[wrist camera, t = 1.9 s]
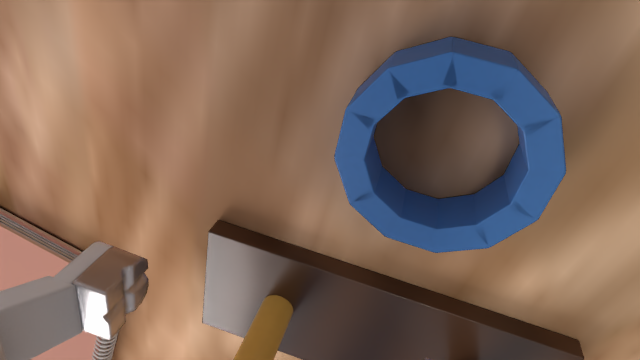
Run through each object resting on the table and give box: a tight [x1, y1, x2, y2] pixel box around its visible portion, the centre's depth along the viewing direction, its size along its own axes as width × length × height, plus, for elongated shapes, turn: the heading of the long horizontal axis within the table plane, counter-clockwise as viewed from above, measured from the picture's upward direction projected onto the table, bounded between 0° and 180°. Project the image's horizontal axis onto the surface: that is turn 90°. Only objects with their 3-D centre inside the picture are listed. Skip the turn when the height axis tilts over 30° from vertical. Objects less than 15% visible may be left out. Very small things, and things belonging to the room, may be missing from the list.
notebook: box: [0, 208, 119, 360], centre depth 44 cm, size 27×17×2 cm, turn 156°
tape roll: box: [334, 37, 566, 253], centre depth 23 cm, size 11×11×3 cm
